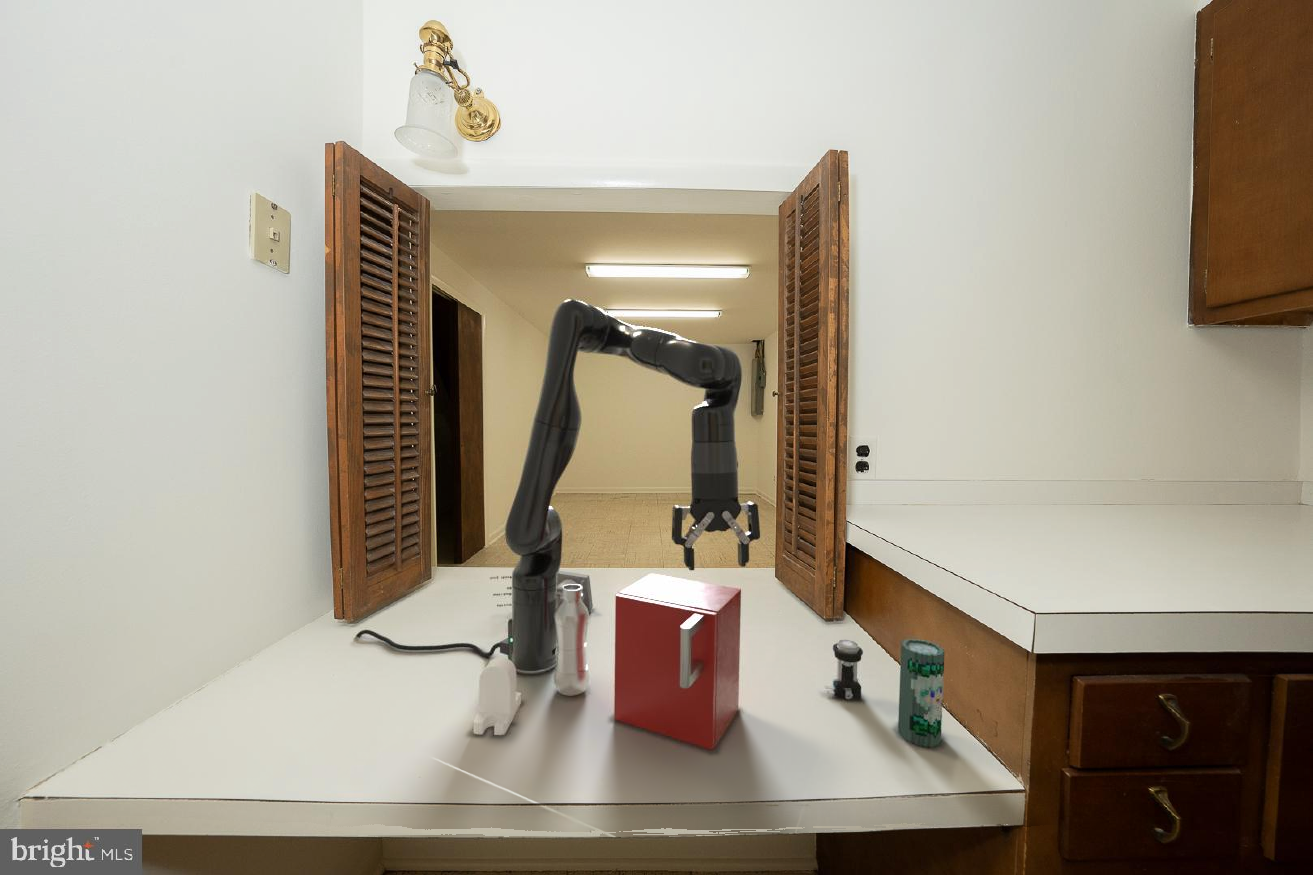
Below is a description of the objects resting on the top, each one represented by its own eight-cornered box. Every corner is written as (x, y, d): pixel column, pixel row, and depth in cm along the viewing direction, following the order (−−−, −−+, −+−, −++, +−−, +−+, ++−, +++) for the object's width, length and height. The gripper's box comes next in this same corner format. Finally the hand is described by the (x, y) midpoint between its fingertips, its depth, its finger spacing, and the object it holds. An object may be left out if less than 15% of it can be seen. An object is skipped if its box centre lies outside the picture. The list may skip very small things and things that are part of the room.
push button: (828, 702, 98) (830, 649, 97) (821, 687, 103) (822, 636, 103) (865, 703, 97) (867, 650, 97) (855, 688, 103) (857, 638, 102)
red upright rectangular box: (715, 747, 84) (717, 611, 83) (617, 716, 92) (619, 592, 91) (738, 709, 95) (741, 588, 94) (649, 684, 103) (651, 573, 102)
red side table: (697, 774, 77) (699, 629, 76) (593, 739, 85) (594, 607, 84) (714, 746, 84) (717, 612, 83) (617, 716, 92) (618, 593, 91)
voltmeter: (590, 602, 147) (591, 566, 146) (595, 618, 136) (595, 580, 135) (491, 608, 141) (491, 572, 141) (487, 625, 130) (486, 586, 129)
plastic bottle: (573, 704, 96) (574, 595, 95) (546, 693, 99) (546, 588, 98) (596, 688, 101) (597, 585, 100) (569, 678, 105) (570, 579, 104)
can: (921, 750, 84) (925, 658, 83) (890, 728, 90) (894, 642, 89) (948, 741, 87) (952, 651, 86) (916, 720, 92) (920, 636, 91)
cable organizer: (472, 734, 86) (472, 674, 86) (492, 701, 96) (493, 647, 96) (504, 735, 86) (504, 675, 86) (521, 702, 96) (521, 648, 96)
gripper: (749, 465, 91) (751, 558, 91) (667, 468, 89) (670, 563, 89) (764, 469, 83) (766, 571, 84) (674, 473, 81) (677, 577, 82)
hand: (716, 567), depth 87 cm, fingers open, 8 cm apart
